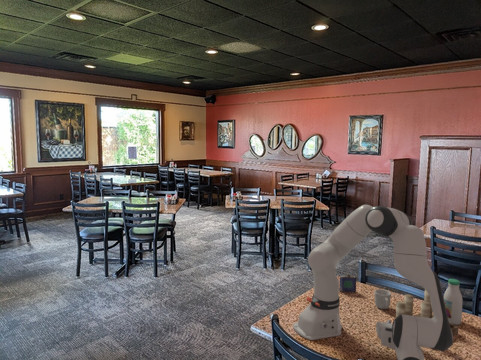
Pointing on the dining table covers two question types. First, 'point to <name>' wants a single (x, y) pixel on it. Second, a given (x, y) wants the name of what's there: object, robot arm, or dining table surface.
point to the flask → (347, 283)
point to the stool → (424, 309)
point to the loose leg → (400, 308)
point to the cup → (382, 298)
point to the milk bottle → (453, 302)
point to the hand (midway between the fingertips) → (401, 323)
